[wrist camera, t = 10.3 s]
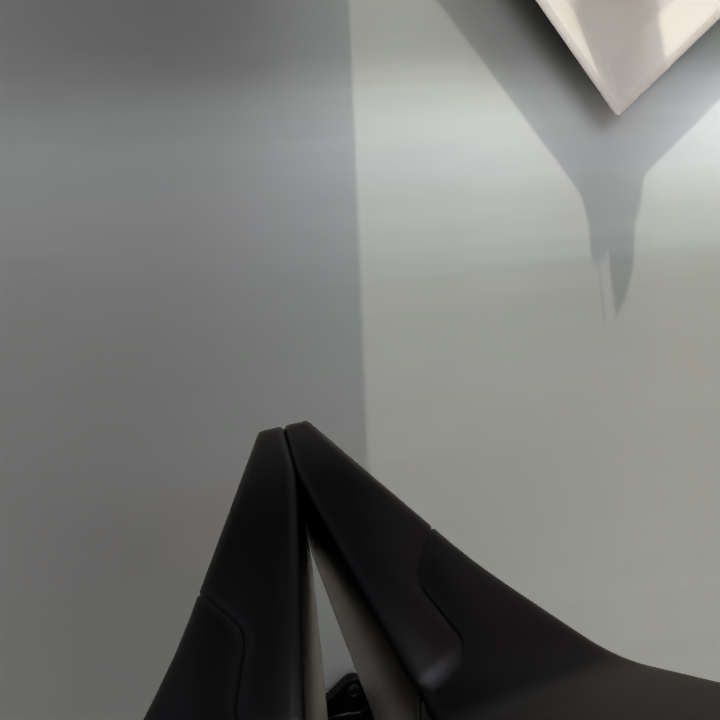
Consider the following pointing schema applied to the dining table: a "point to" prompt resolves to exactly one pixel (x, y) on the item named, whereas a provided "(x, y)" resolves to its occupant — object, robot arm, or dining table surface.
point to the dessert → (629, 39)
